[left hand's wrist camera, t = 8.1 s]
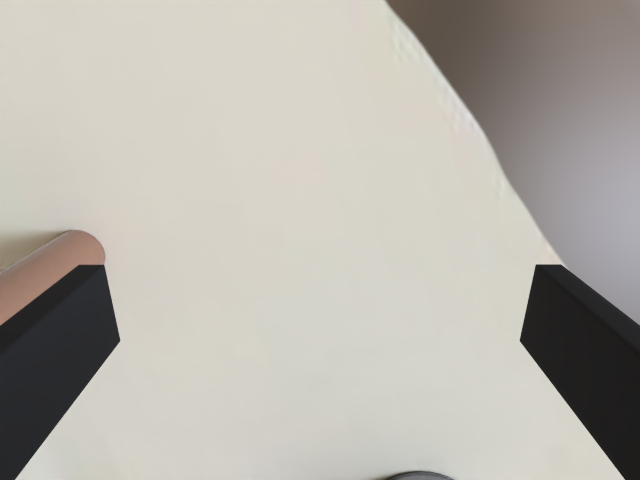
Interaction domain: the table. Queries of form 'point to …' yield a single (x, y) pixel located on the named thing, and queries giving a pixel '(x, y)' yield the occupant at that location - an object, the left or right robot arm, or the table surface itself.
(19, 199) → the table surface
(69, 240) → the jar
